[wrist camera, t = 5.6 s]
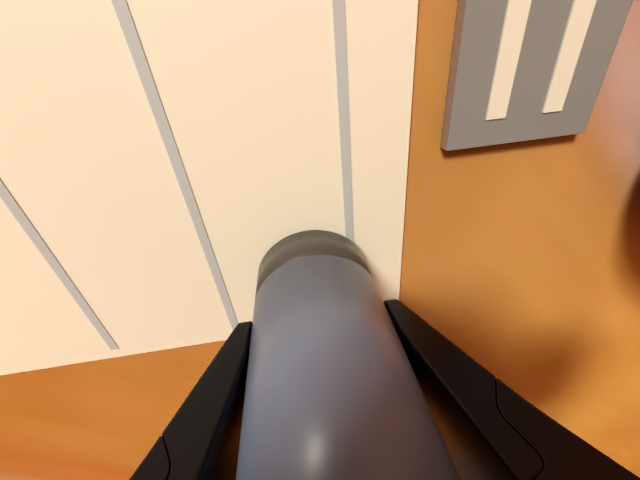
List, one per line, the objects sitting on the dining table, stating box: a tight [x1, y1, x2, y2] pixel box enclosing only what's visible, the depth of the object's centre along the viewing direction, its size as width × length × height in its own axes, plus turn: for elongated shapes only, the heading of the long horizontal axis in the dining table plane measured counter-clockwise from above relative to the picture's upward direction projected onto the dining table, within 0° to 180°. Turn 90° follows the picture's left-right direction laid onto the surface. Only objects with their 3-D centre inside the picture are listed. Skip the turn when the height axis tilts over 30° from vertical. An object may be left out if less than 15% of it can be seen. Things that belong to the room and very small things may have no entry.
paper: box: [0, 0, 418, 375], centre depth 9 cm, size 13×19×1 cm
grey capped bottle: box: [236, 230, 461, 480], centre depth 7 cm, size 4×4×8 cm
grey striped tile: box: [441, 0, 633, 151], centre depth 8 cm, size 6×5×1 cm
